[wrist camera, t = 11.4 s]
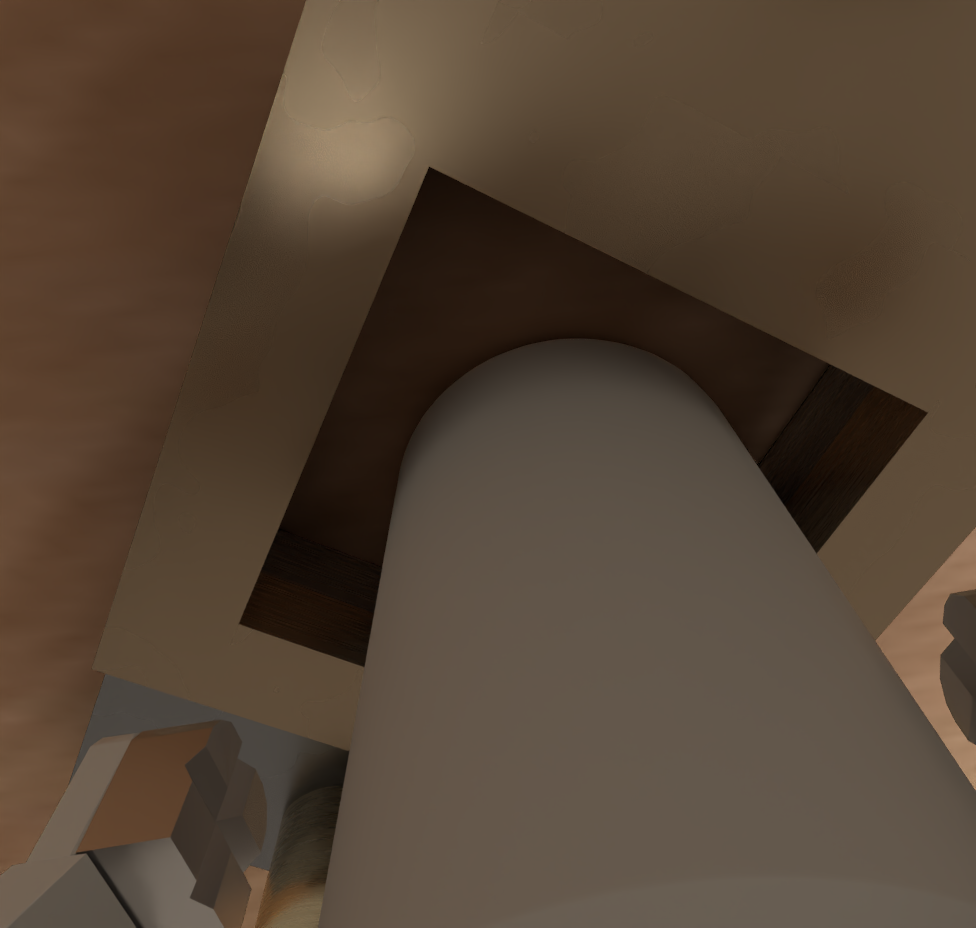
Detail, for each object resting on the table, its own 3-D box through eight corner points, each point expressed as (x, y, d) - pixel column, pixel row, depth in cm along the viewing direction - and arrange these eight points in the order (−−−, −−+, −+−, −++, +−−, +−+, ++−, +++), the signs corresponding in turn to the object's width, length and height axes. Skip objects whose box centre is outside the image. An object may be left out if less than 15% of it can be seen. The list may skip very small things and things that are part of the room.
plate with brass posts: (539, 891, 21) (565, 1234, 15) (88, 758, 19) (-101, 1106, 13) (1296, -78, 12) (2259, -227, 5) (562, -628, 9) (757, -2147, 3)
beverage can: (781, 370, 15) (1605, 1229, 4) (659, 637, 17) (948, 1556, 7) (442, 284, 14) (330, 1081, 3) (372, 579, 17) (190, 1523, 6)
